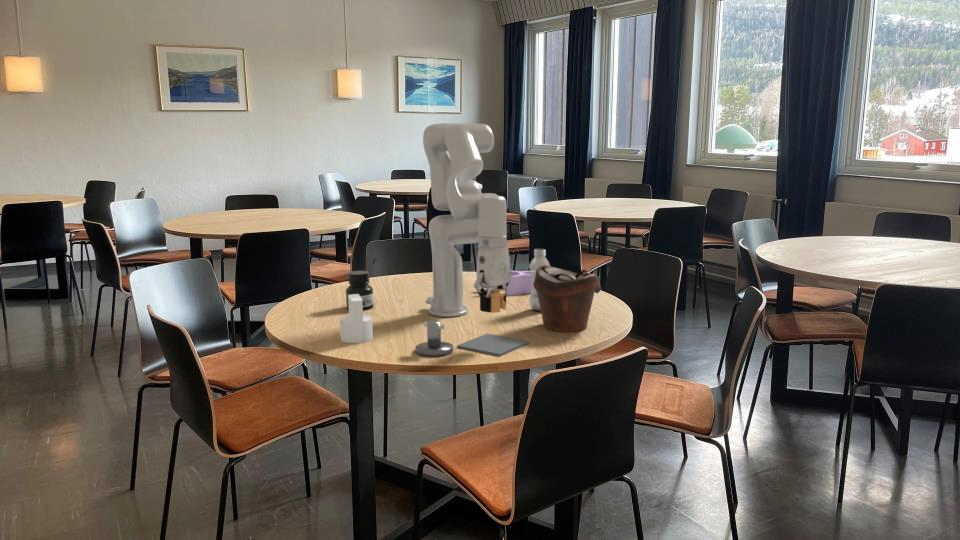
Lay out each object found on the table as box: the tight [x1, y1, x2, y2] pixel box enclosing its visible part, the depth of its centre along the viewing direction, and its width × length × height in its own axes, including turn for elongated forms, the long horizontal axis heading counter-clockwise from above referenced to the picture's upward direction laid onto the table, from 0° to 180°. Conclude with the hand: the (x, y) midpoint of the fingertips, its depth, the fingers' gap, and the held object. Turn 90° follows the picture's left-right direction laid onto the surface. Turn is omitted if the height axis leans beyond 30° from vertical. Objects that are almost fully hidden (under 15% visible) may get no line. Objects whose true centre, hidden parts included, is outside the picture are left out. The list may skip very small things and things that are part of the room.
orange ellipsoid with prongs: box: [482, 288, 507, 314], centre depth 190 cm, size 6×6×6 cm
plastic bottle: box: [529, 248, 551, 312], centre depth 229 cm, size 6×7×20 cm
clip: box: [484, 270, 532, 296], centre depth 259 cm, size 20×12×7 cm, turn 96°
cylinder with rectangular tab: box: [339, 294, 374, 344], centre depth 199 cm, size 9×9×12 cm
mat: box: [456, 333, 530, 357], centre depth 192 cm, size 14×14×1 cm
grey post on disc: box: [415, 319, 454, 358], centre depth 187 cm, size 10×10×8 cm
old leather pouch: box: [533, 265, 602, 333], centre depth 209 cm, size 18×20×18 cm
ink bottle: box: [345, 270, 374, 311], centre depth 236 cm, size 10×9×12 cm
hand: (493, 308), depth 190 cm, fingers closed on orange ellipsoid with prongs, 6 cm apart
